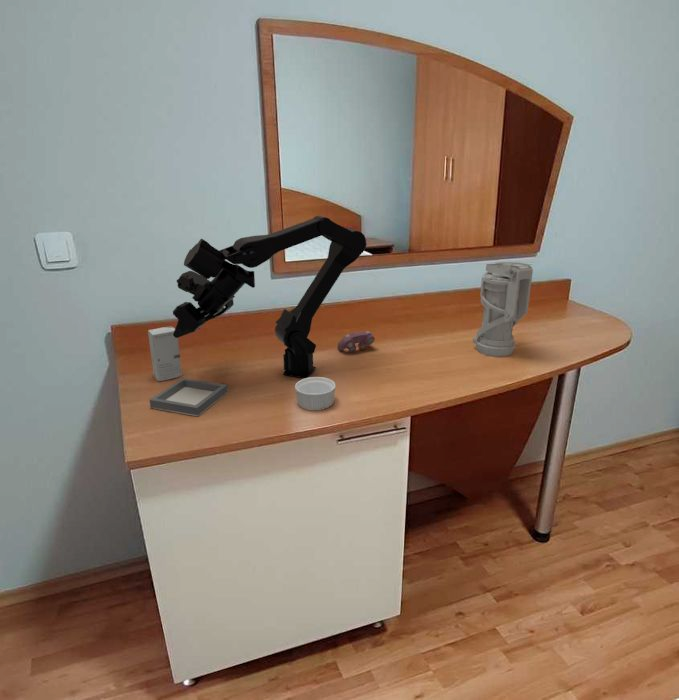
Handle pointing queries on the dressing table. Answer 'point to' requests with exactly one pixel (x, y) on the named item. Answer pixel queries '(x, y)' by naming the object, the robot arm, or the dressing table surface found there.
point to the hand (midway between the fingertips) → (185, 330)
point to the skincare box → (164, 353)
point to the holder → (189, 396)
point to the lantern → (502, 306)
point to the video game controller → (356, 341)
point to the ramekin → (315, 392)
